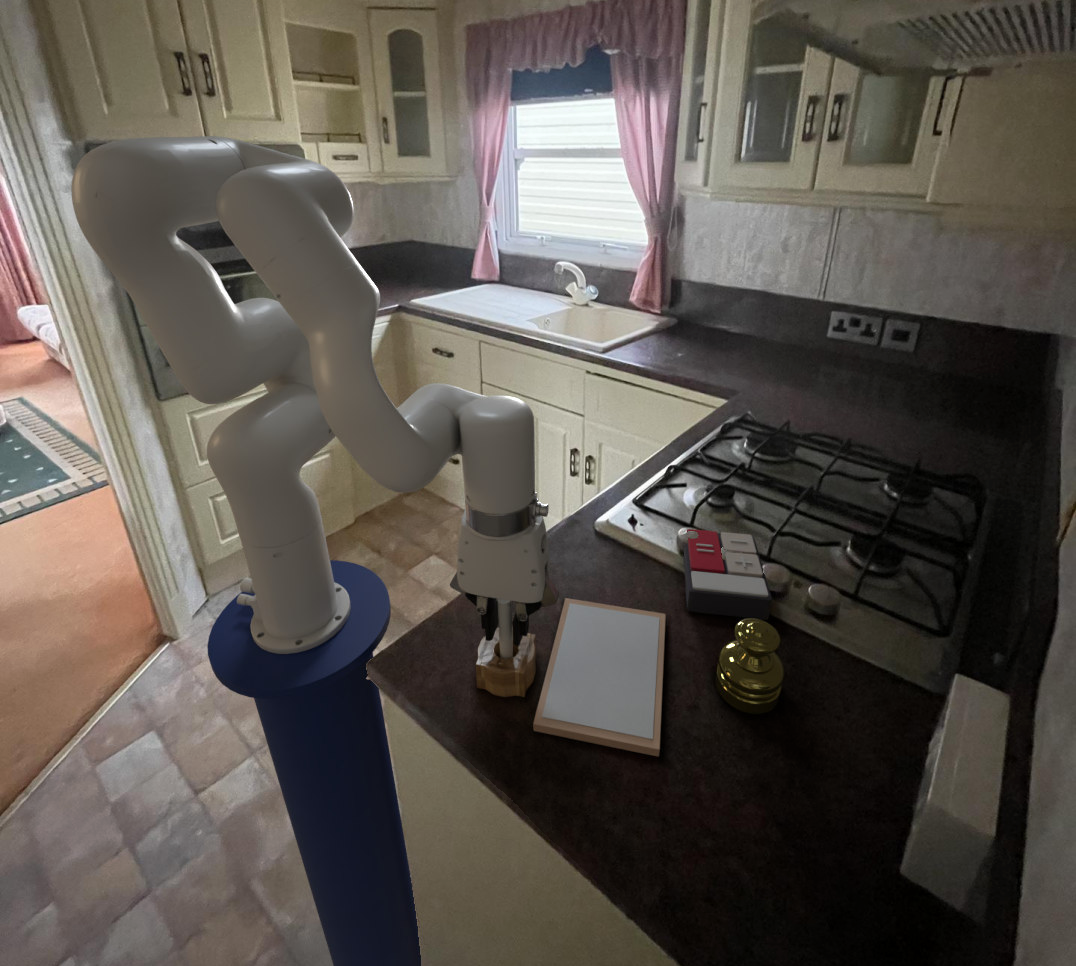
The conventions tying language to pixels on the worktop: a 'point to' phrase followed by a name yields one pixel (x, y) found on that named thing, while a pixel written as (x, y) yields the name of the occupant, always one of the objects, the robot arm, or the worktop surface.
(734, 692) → the brass weight
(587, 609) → the small whiteboard
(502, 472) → the robot arm
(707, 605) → the calculator
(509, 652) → the stylus
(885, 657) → the worktop surface
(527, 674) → the holder
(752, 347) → the worktop surface
